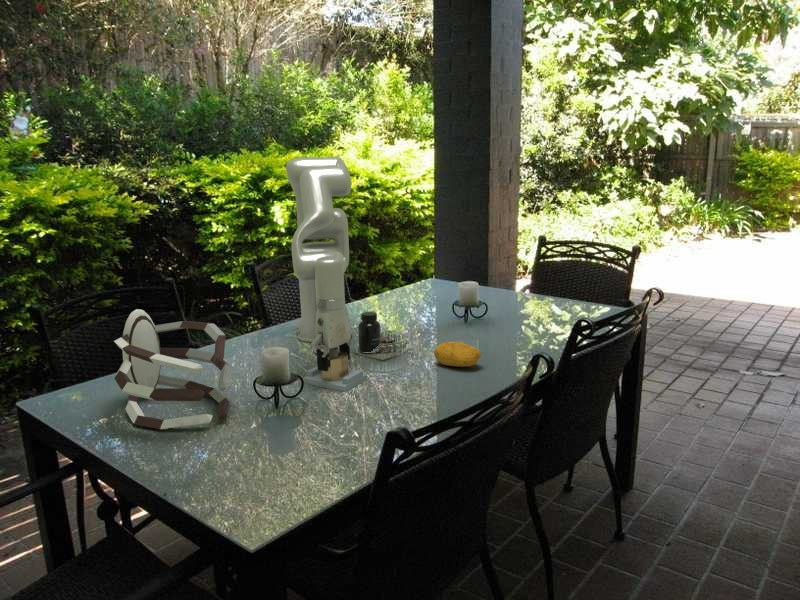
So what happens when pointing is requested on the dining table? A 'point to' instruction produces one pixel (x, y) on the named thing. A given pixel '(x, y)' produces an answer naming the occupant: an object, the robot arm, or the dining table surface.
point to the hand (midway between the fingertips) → (334, 364)
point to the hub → (336, 367)
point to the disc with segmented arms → (147, 358)
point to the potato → (457, 354)
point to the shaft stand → (340, 385)
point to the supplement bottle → (369, 332)
